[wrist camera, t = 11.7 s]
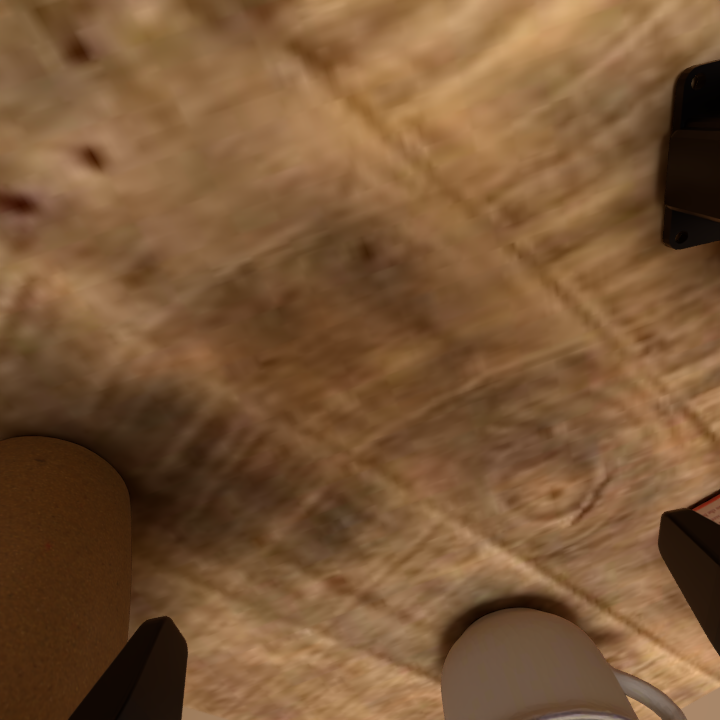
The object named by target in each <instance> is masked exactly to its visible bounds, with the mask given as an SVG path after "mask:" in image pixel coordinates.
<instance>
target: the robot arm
mask: <svg viewBox="0 0 720 720" xmlns="http://www.w3.org/2000/svg"><path fill="white" fill-rule="evenodd" d="M695 76H697V77H698V82H697V85H696V86H695V88H694V89H693V88H692V86H691V83H692V79H693V78H694V77H695ZM664 203H665V205H666V209H665V220H664V231H663V242H664V244H665V245H666V246H668V247H670V248H673V249H676V250H677V249H684V248H688V247H693V246H697V245H701V244H706V243H710V242H714V241H719V240H720V59H719V60H715V61H711V62H707V63H703V64H699V65H695V66H692V67H690V68H687V69H686V70H685V71H684V72H683V73H682V74H681V76H680V77H679V79H678V82H677V86H676V97H675V108H674V120H673V131H672V137H671V138H670V145H669V156H668V168H667V179H666V190H665V202H664ZM679 232H681V236H680V238H679V239H678V240H675V238H676V235H677V234H678V233H679ZM658 547H659V551H660V554H661V556H662V558H663V560H664V561H665V563H666V565H667V567H668V569H669V570H670V572H671V574H672V576H673V577H674V579H675V581H676V583H677V584H678V586H679V588H680V590H681V591H682V593H683V595H684V597H685V598H686V600H687V602H688V604H689V606H690V607H691V609H692V611H693V613H694V614H695V616H696V618H697V620H698V621H699V623H700V625H701V627H702V628H703V630H704V632H705V634H706V635H707V637H708V639H709V640H710V642H711V644H712V645H713V647H714V648H715V650H716V651H717V653H718V654H719V656H720V524H718V523H716V522H714V521H712V520H710V519H709V518H707V517H705V516H703V515H701V514H699V513H698V512H696V511H694V510H691V509H688V508H680V509H676V510H671V511H666V512H664V513H663V514H662V516H661V522H660V530H659V538H658ZM187 657H188V648H187V643H186V640H185V639H184V637H183V636H182V634H181V633H180V631H179V630H178V628H177V627H176V625H175V624H174V622H173V621H172V619H171V618H170V617H167V616H163V617H158V618H153V619H149V620H147V621H145V622H144V623H143V624H142V625H141V626H140V627H139V628H138V629H137V631H136V632H135V633H134V635H133V636H132V637H131V638H130V640H129V641H128V642H127V644H126V645H125V646H124V647H123V649H122V650H121V651H120V653H119V654H118V655H117V656H116V658H115V659H114V660H113V662H112V663H111V664H110V665H109V667H108V668H107V669H106V671H105V672H104V673H103V674H102V676H101V677H100V678H99V680H98V681H97V682H96V683H95V685H94V686H93V687H92V689H91V690H90V691H89V692H88V694H87V695H86V696H85V698H84V699H83V700H82V701H81V703H80V704H79V705H78V707H77V708H76V709H75V710H74V712H73V713H72V714H71V716H70V717H69V718H68V719H67V720H181V719H182V708H183V698H184V688H185V677H186V667H187Z"/></svg>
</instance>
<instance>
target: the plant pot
mask: <svg viewBox="0 0 720 720" xmlns="http://www.w3.org/2000/svg"><path fill="white" fill-rule="evenodd" d="M131 567H132V539H131V506H130V496H129V492H128V489H127V487H126V484H125V482H124V481H123V479H122V478H121V476H120V475H119V474H118V472H117V471H116V470H115V469H114V468H113V467H112V466H111V465H110V464H109V463H108V462H107V461H105V460H104V459H103V458H101V457H100V456H98V455H97V454H95V453H94V452H92V451H90V450H88V449H86V448H84V447H82V446H80V445H77V444H74V443H71V442H69V441H65V440H61V439H57V438H50V437H42V436H23V437H14V438H9V439H6V440H2V441H0V720H67V719H68V718H69V717H70V716H71V714H72V713H73V712H74V710H75V709H76V708H77V707H78V705H79V704H80V703H81V701H82V700H83V699H84V698H85V696H86V695H87V694H88V692H89V691H90V690H91V689H92V687H93V686H94V685H95V683H96V682H97V681H98V680H99V678H100V677H101V676H102V674H103V673H104V672H105V671H106V669H107V668H108V667H109V665H110V664H111V663H112V662H113V660H114V659H115V658H116V656H117V655H118V654H119V653H120V651H121V650H122V649H123V647H124V646H125V645H126V644H127V639H128V628H129V614H130V596H131Z"/></svg>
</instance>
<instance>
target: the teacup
mask: <svg viewBox="0 0 720 720" xmlns="http://www.w3.org/2000/svg"><path fill="white" fill-rule="evenodd" d="M441 693H442V702H443V710H444V716H445V720H639V719H638V717H637V716H636V714H635V712H634V710H633V708H632V706H631V704H630V702H629V701H628V699H627V697H626V695H627V696H629V697H631V698H633V699H635V700H637V701H639V702H640V703H642V704H644V705H645V706H647V707H648V708H650V709H651V710H653V711H654V712H655V713H656V714H657V715H658V716H659V717H661V719H662V720H687V719H686V717H685V715H684V714H683V712H682V711H681V709H680V708H679V707H678V706H677V705H676V704H675V703H674V702H673V701H672V700H671V699H670V698H669V697H668V696H667V695H666V694H664V693H663V692H662V691H660V690H659V689H657V688H656V687H654V686H652V685H651V684H649V683H647V682H645V681H643V680H641V679H639V678H637V677H635V676H633V675H630V674H628V673H625V672H623V671H620V670H618V669H615V668H614V667H612V666H611V665H610V664H609V663H608V662H606V660H605V658H604V657H603V655H602V653H601V652H600V650H599V649H598V648H597V646H596V645H595V643H594V642H593V641H592V640H591V638H590V637H589V636H588V635H587V634H586V633H585V632H584V631H583V630H582V629H580V628H579V627H578V626H577V625H575V624H573V623H572V622H570V621H568V620H566V619H564V618H562V617H560V616H557V615H554V614H551V613H546V612H542V611H539V610H535V609H530V608H508V609H503V610H499V611H496V612H493V613H490V614H487V615H485V616H483V617H481V618H480V619H478V620H477V621H475V622H474V623H473V624H472V625H470V626H469V627H468V628H467V629H466V630H465V632H464V633H463V634H462V636H461V637H460V638H459V639H458V640H457V641H456V642H455V644H454V645H453V646H452V648H451V649H450V651H449V653H448V655H447V657H446V659H445V662H444V665H443V669H442V676H441Z"/></svg>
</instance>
